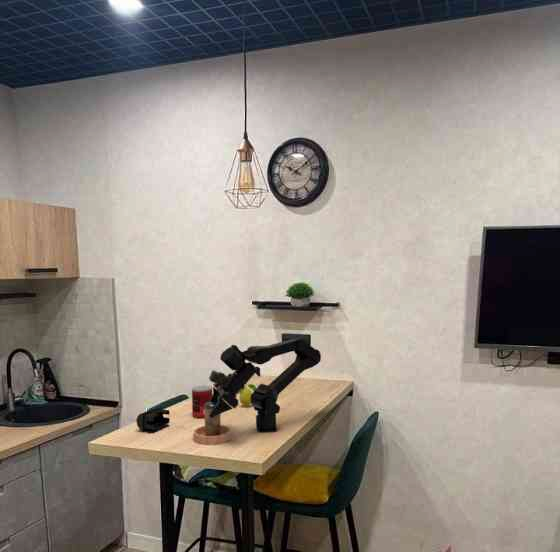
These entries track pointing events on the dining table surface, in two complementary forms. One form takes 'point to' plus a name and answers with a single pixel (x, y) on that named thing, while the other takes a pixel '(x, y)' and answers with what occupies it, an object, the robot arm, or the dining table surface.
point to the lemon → (246, 395)
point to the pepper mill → (212, 421)
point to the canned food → (200, 400)
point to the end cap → (153, 420)
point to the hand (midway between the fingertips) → (208, 413)
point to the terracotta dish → (211, 440)
